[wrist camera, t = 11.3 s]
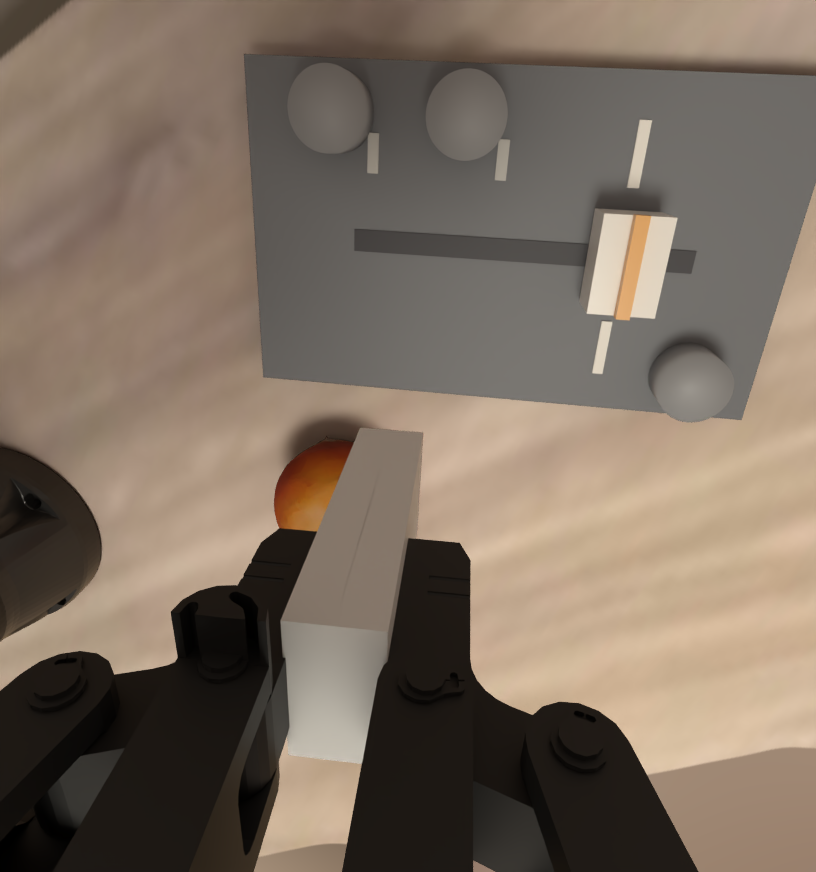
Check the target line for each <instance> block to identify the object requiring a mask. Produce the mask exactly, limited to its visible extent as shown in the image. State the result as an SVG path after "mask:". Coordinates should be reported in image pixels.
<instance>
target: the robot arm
mask: <svg viewBox="0 0 816 872" xmlns="http://www.w3.org/2000/svg"><path fill="white" fill-rule="evenodd" d="M422 446H423V433H422V432H410V431H397V430H385V429H372V428H360V429H359V432H358V434H357V437H356V439H355V441H354V444H353V446H352V449H351V451H350V454H349V456H348V458H347V461H346V463H345V466H344V468H343V470H342V473H341V475H340V478H339V480H338V483H337V485H336V487H335V490H334V492H333V495H332V497H331V500H330V502H329V504H328V507H327V509H326V512H325V514H324V516H323V519H322V521H321V524H320V526H319V529H318V531H306V530H295V529H284V528H279V529H278V530H277V531H276V532H274V533H273V534H272V535H270V536H269V537H268V538H266V539H265V540H264V541H262V542H261V544H260V546H259V548H258V549H257V551H256V553H255V555H254V557H253V559H252V562H251V564H249V566H248V568H247V570H246V571H245V573H244V577H243V579H241V580H240V582H239V584H238V586H236V585H231V586H215V587H211V588H208V589H204V590H200V591H198V592H196V593H194V594H192V595H190V596H189V597H187V598H185V599H183V600H182V601H181V602H180V603H179V604H178V605H177V606H176V607H175V608H174V609H173V610H172V611H171V617H172V623H173V629H174V636H175V642H176V648H177V655H178V658H177V660H176V662H175V663H172V664H170V665H167V666H163V667H159V668H154V669H149V670H142V671H135V672H129V673H122V674H116V675H114V673H113V670H112V668H111V665H110V663H109V661H108V660H106V659H105V658H103V657H102V656H100V655H99V654H97V653H90V652H83V651H78V652H71V653H64V654H59V655H56V656H54V657H51V658H48V659H46V660H43V661H41V662H39V663H37V664H35V665H34V666H32V667H31V668H29V669H28V670H26V671H25V672H23V673H22V674H20V675H19V676H18V677H17V678H15V679H14V680H13V681H12V682H10V683H9V684H8V685H7V686H6V687H4V688H3V689H2V690H1V691H0V872H254V868H255V865H256V861H257V858H258V855H259V852H260V849H261V845H262V842H263V839H264V835H265V832H266V829H267V825H268V822H269V819H270V816H271V812H272V809H273V806H274V802H275V799H276V796H277V792H278V786H279V776H280V774H279V758H280V755H281V752H282V749H283V746H284V743H285V740H286V737H287V739H288V755H292V756H300V757H309V758H317V759H326V760H334V761H342V762H351V763H359V764H362V766H361V772H360V777H359V783H358V788H357V793H356V799H355V804H354V810H353V815H352V820H351V826H350V831H349V837H348V842H347V848H346V853H345V859H344V864H343V869H342V872H473V860H474V861H476V862H478V863H480V864H482V865H484V866H486V867H488V868H490V869H492V870H493V871H495V872H698V870H697V868H696V866H695V864H694V863H693V861H692V859H691V857H690V855H689V853H688V851H687V850H686V848H685V846H684V844H683V842H682V840H681V838H680V836H679V834H678V833H677V831H676V829H675V827H674V825H673V823H672V821H671V819H670V818H669V816H668V814H667V812H666V810H665V808H664V806H663V805H662V803H661V801H660V799H659V797H658V795H657V793H656V791H655V789H654V788H653V786H652V784H651V782H650V780H649V778H648V776H647V774H646V773H645V771H644V769H643V767H642V765H641V763H640V761H639V759H638V758H637V756H636V754H635V752H634V750H633V748H632V746H631V744H630V743H629V741H628V739H627V738H626V737H625V735H624V734H623V733H622V731H621V730H620V729H619V727H618V726H617V725H616V724H615V723H614V722H613V721H611V720H610V719H609V718H607V717H606V716H605V715H603V714H602V713H601V712H599V711H597V710H595V709H592V708H590V707H587V706H584V705H582V704H579V703H568V702H557V703H553V704H550V705H546V706H543V707H542V708H540V709H539V710H538V711H537V712H536V713H535V714H534V715H531V714H528V713H526V712H523V711H521V710H518V709H516V708H513V707H511V706H509V705H507V704H505V703H503V702H501V701H499V700H497V699H496V698H494V697H493V696H492V695H491V694H489V693H488V692H487V691H485V689H484V688H483V687H482V686H481V685H480V683H479V682H478V681H477V679H476V677H475V675H474V673H473V671H472V668H471V662H470V559H469V557H468V556H467V554H466V552H465V551H464V549H463V548H462V546H461V544H460V543H455V542H444V541H433V540H423V539H416V536H417V529H418V512H419V496H420V479H421V462H422ZM100 557H101V544H100V538H99V534H98V530H97V527H96V525H95V522H94V520H93V518H92V516H91V514H90V512H89V510H88V509H87V507H86V506H85V504H84V503H83V501H82V500H81V499H80V497H79V496H78V495H77V494H76V493H75V491H74V490H73V489H72V488H71V487H70V486H69V485H68V484H67V483H66V482H65V481H64V480H63V479H61V478H60V477H59V476H58V475H57V474H55V473H54V472H53V471H51V470H50V469H48V468H47V467H45V466H44V465H42V464H40V463H39V462H37V461H35V460H33V459H31V458H29V457H27V456H25V455H22V454H20V453H17V452H14V451H11V450H7V449H4V448H0V642H1V641H2V640H3V639H4V638H6V637H8V636H10V635H12V634H14V633H16V632H18V631H19V630H21V629H23V628H25V627H27V626H29V625H31V624H33V623H35V622H36V621H38V620H40V619H42V618H43V617H45V616H46V615H48V614H51V613H53V612H55V611H57V610H59V609H61V608H63V607H64V606H66V605H67V604H69V603H70V602H71V601H72V600H73V599H75V597H76V596H77V595H78V594H79V593H80V592H81V591H82V590H83V589H84V588H85V587H86V586H87V585H88V584H89V583H90V581H91V580H92V579H93V577H94V576H95V574H96V572H97V570H98V567H99V563H100Z"/></svg>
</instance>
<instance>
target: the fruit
mask: <svg viewBox="0 0 816 872" xmlns="http://www.w3.org/2000/svg"><path fill="white" fill-rule="evenodd" d="M353 444H354V442H349V441H346V440H333V439H330V438H327V436H326V438H325V439H324V440H323V441H321V442H319V443H317V444H316V445H314V446H312V447H310V448H308V449H306V450H305V451H303V452H302V453H300V454H299V455H298V456H297V457H295V458H294V459H293V460H291V461H290V463H289V464H288V465H287V466H286V467H285V469H284V471H283V472H282V474H281V476H280V477H279V480H278V483H277V486H276V490H275V498H274V509H275V515H276V520H277V523H278V526H279V528H284V529H295V530H306V531H318V529H319V526H320V524H321V521H322V519H323V516H324V514H325V512H326V509H327V507H328V504H329V502H330V500H331V497H332V495H333V492H334V490H335V487H336V485H337V483H338V480H339V478H340V475H341V473H342V470H343V468H344V466H345V463H346V461H347V458H348V456H349V454H350V451H351V449H352V446H353Z"/></svg>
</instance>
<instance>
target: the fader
mask: <svg viewBox="0 0 816 872" xmlns="http://www.w3.org/2000/svg"><path fill="white" fill-rule="evenodd" d="M677 219H678V218H677V217H674V216H671V215H668V214H665V213H663V212H648V211H631V210H614V209H598V208H595V212H594V217H593V223H592V229H591V235H590V241H589V247H588V253H587V259H586V265H585V270H584V276H583V282H582V288H581V294H580V300H579V301H580V303H581V305H582V307H583V308H584V310H585V312H586V313H587V314H598V315H611V316H614V318H615V319H616V320H629V321H630V317H637V318H651V319H655V316H656V311H657V307H658V303H659V298H660V294H661V289H662V285H663V280H664V276H665V272H666V267H667V263H668V258H669V254H670V250H671V245H672V241H673V236H674V232H675V228H676V223H677Z"/></svg>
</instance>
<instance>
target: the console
mask: <svg viewBox="0 0 816 872" xmlns="http://www.w3.org/2000/svg"><path fill="white" fill-rule="evenodd" d="M244 63H245V80H246V97H247V113H248V130H249V146H250V163H251V180H252V196H253V213H254V229H255V246H256V263H257V279H258V296H259V312H260V329H261V345H262V362H263V377H267V378H278V379H289V380H300V381H311V382H322V383H334V384H345V385H356V386H367V387H378V388H389V389H401V390H412V391H423V392H434V393H445V394H456V395H468V396H479V397H490V398H501V399H512V400H523V401H534V402H546V403H557V404H568V405H579V406H590V407H601V408H613V409H624V410H635V411H646V412H657V413H667V414H668V415H669V416H670V417H672V418H674V419H676V420H678V421H682V422H699V421H703V420H706V419H709V418H711V417H713V418H724V419H735V420H742V417H743V413H744V410H745V407H746V404H747V401H748V397H749V394H750V391H751V388H752V385H753V381H754V378H755V375H756V372H757V369H758V365H759V362H760V359H761V356H762V353H763V349H764V346H765V343H766V340H767V337H768V333H769V330H770V327H771V324H772V321H773V317H774V314H775V311H776V308H777V305H778V301H779V298H780V295H781V292H782V289H783V285H784V282H785V279H786V276H787V273H788V269H789V266H790V263H791V260H792V257H793V253H794V250H795V247H796V244H797V241H798V238H799V234H800V231H801V228H802V225H803V222H804V218H805V215H806V212H807V209H808V206H809V202H810V199H811V196H812V193H813V190H814V186H815V183H816V76H807V75H781V74H754V73H728V72H702V71H676V70H649V69H623V68H597V67H570V66H544V65H518V64H492V63H465V62H439V61H413V60H386V59H360V58H334V57H308V56H281V55H255V54H244ZM595 208H598V209H614V210H631V211H648V212H663V213H665V214H668V215H671V216H674V217H677V218H678V219H677V223H676V228H675V232H674V236H673V241H672V245H671V250H670V254H669V258H668V263H667V267H666V272H665V276H664V280H663V285H662V289H661V294H660V298H659V303H658V307H657V311H656V316H655V319H651V318H637V317H630V321H629V320H616V319H615V318H614V316H611V315H598V314H587V313H586V312H585V310H584V308H583V307H582V305H581V303H580V301H579V300H580V294H581V288H582V282H583V276H584V270H585V265H586V259H587V253H588V247H589V241H590V235H591V229H592V223H593V217H594V212H595Z"/></svg>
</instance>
